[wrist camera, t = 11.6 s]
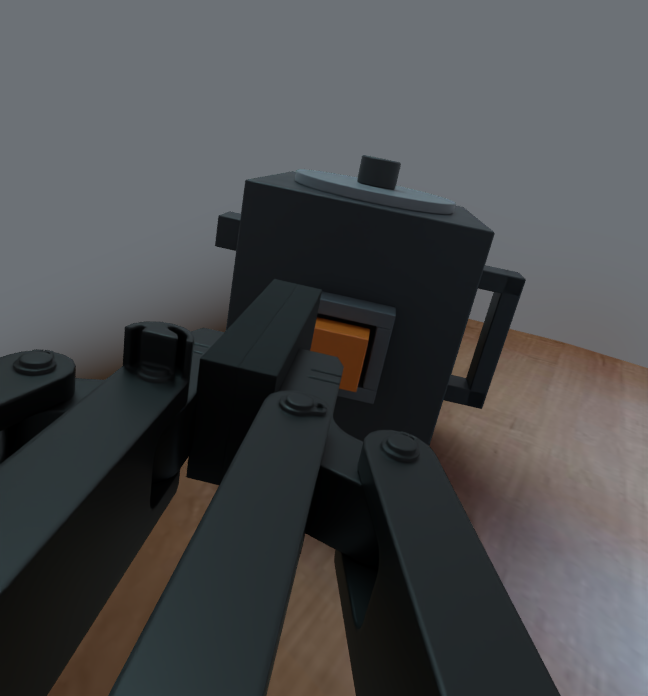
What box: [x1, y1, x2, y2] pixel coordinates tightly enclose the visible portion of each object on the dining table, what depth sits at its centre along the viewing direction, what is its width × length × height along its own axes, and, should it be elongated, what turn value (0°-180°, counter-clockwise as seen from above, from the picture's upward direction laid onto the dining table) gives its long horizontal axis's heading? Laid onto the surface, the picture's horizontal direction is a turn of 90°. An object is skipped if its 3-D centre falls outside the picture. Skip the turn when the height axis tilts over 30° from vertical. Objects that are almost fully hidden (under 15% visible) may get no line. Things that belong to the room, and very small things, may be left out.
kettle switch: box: [310, 317, 370, 392], centre depth 28 cm, size 3×2×3 cm, turn 83°
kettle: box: [215, 155, 526, 446], centre depth 35 cm, size 20×15×20 cm
